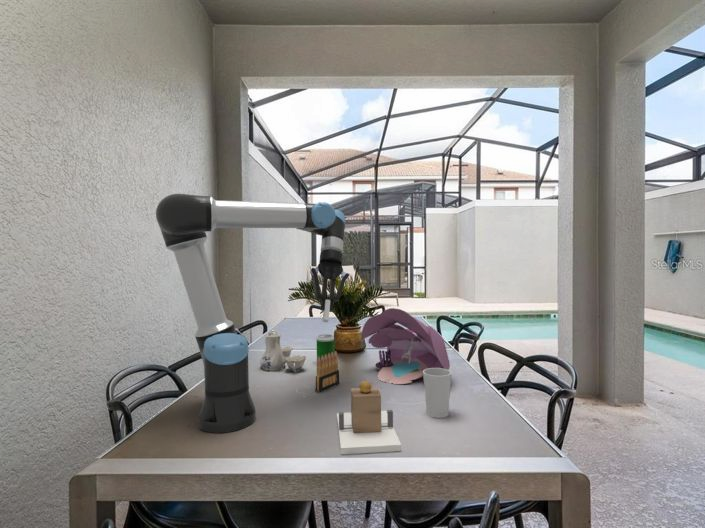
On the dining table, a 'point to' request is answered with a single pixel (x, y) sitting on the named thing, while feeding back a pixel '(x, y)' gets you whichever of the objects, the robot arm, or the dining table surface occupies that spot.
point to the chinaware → (279, 355)
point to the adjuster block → (365, 408)
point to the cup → (437, 391)
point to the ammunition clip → (327, 372)
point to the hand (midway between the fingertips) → (325, 320)
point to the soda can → (325, 345)
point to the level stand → (367, 436)
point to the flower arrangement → (404, 346)
